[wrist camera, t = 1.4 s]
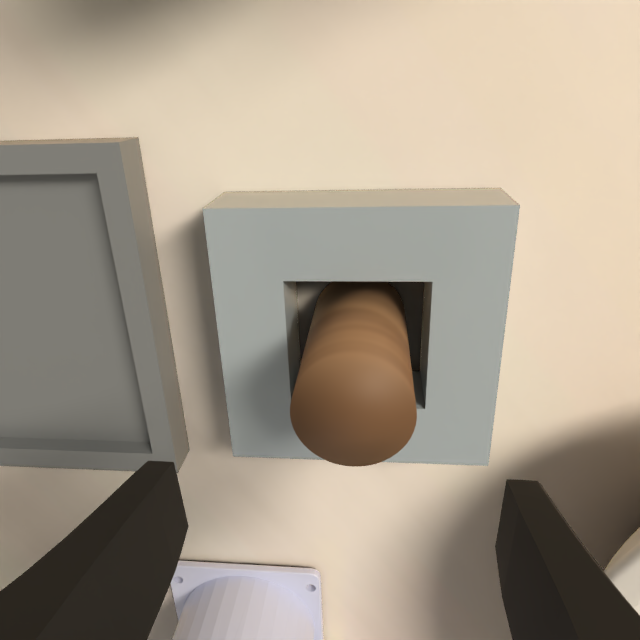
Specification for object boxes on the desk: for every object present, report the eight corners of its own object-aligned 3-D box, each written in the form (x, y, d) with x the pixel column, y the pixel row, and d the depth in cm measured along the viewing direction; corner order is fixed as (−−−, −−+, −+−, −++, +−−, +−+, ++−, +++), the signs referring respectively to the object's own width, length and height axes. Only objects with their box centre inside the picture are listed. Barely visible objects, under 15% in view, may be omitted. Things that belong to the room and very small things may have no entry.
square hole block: (476, 423, 23) (488, 465, 21) (248, 416, 24) (232, 456, 22) (500, 188, 19) (519, 205, 16) (224, 191, 20) (202, 208, 17)
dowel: (403, 355, 22) (414, 468, 16) (316, 354, 22) (293, 464, 16) (406, 273, 21) (419, 361, 14) (313, 273, 21) (285, 358, 15)
